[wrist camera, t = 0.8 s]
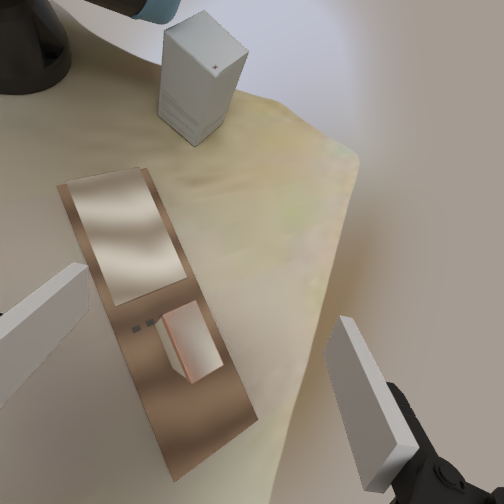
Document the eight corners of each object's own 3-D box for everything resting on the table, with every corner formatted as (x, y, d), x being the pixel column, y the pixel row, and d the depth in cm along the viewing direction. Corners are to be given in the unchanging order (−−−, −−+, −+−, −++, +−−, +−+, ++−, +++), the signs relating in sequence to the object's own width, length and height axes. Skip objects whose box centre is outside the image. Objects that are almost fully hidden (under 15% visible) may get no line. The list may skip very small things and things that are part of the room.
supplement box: (223, 124, 45) (252, 51, 34) (194, 148, 42) (215, 77, 30) (188, 91, 44) (205, 7, 33) (155, 114, 41) (162, 28, 30)
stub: (153, 324, 30) (162, 314, 20) (175, 314, 31) (195, 300, 21) (172, 368, 30) (191, 383, 19) (194, 357, 31) (224, 364, 20)
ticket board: (61, 196, 33) (55, 183, 30) (146, 178, 37) (146, 165, 35) (171, 471, 29) (174, 485, 26) (250, 414, 34) (260, 421, 31)
